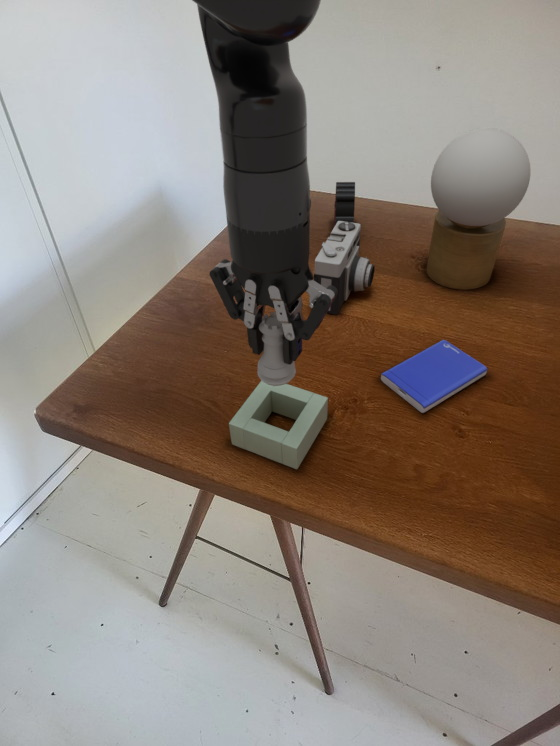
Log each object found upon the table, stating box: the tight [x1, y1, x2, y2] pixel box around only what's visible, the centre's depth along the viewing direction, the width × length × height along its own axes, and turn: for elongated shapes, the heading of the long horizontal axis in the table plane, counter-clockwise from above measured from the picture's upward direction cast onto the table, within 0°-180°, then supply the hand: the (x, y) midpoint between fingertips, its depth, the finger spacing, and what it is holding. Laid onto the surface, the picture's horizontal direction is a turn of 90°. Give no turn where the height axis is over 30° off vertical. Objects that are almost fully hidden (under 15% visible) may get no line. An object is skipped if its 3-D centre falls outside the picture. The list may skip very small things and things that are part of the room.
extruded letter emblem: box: [333, 181, 356, 228], centre depth 100 cm, size 18×4×11 cm, turn 176°
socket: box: [228, 380, 329, 470], centre depth 66 cm, size 9×9×4 cm
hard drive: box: [380, 339, 488, 414], centre depth 73 cm, size 2×8×12 cm
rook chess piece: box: [256, 311, 297, 386], centre depth 57 cm, size 4×4×8 cm
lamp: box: [425, 127, 531, 291], centre depth 83 cm, size 15×14×25 cm
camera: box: [313, 221, 375, 315], centre depth 86 cm, size 14×8×10 cm, turn 160°
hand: (275, 354), depth 58 cm, fingers closed on rook chess piece, 3 cm apart
